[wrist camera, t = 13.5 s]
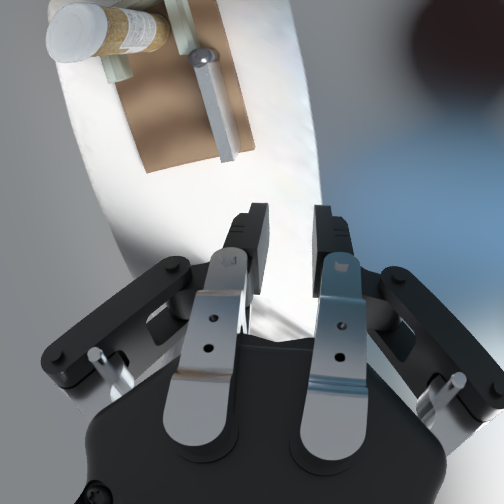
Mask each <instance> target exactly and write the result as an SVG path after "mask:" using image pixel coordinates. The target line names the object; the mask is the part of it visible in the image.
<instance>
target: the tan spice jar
mask: <svg viewBox="0 0 504 504" xmlns="http://www.w3.org/2000/svg"><path fill="white" fill-rule="evenodd" d="M169 34H170V25H169V22H168V21H167V19H166V18H164V17H163V16H162V15H159V14H154V13H150V14H149V13H146V12H142V11H137V10H130V9H124V8H117V7H102V6H98V5H96V4H93V3H72V4H69V5H67V6H65V7H63V8H62V9H61V10H59V11H58V12H57V13H56V15H55V16H54V17H53V19H52V20H51V22H50V24H49V26H48V30H47V33H46V47H47V51H48V53H49V55H50V56H51V57H52V58H53V59H54V60H55V61H57V62H60V63H72V62H77V61H82V60H85V59H88V58H89V57H94V56H103V55H113V54H128V53H137V52H153V51H156V50H158V49H159V48H161V47H162V46H163V45H164V44H165V43H166V42H167V40H168V37H169Z"/></svg>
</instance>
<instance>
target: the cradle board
mask: <svg viewBox="0 0 504 504" xmlns="http://www.w3.org/2000/svg"><path fill="white" fill-rule="evenodd" d="M111 7H117V8H124V9H130V10H137V11H142V12H146V13H149V14H150V13H154V14H159V15H162V16H163V17H164V18H166V19H167V21H168V22H169V25H170V34H169V37H168V40H167V42H166V43H165V44H164V45H163V46H162V47H161V48H159V49H158V50H156V51H153V52H137V53H128V54H113V55H103V56H100V58H101V61H102V64H103V68H104V71H105V74H106V78H107V81H108V84H111V83H115V85H116V88H117V91H118V94H119V97H120V100H121V103H122V106H123V109H124V112H125V115H126V118H127V121H128V124H129V127H130V129H131V132H132V135H133V138H134V141H135V143H136V146H137V149H138V152H139V154H140V157H141V160H142V162H143V165H144V168H145V170H146V173H151V172H154V171H158V170H162V169H166V168H170V167H174V166H179V165H183V164H187V163H192V162H196V161H201V160H205V159H210V158H215V157H220V156H219V152H218V149H217V146H216V142H215V139H214V135H213V132H212V128H211V125H210V122H209V118H208V115H207V111H206V108H205V104H204V101H203V97H202V94H201V90H200V87H199V84H198V80H197V77H196V73H195V70H194V67H193V66H191V65H190V63H189V61H188V56H189V54H190V52H191V51H192V50H194V49H197V48H206V49H215V50H217V51H218V52H219V54H220V60H219V65H220V68H221V72H222V76H223V79H224V83H225V87H226V90H227V94H228V98H229V101H230V105H231V109H232V112H233V116H234V120H235V124H236V128H237V131H238V135H239V139H240V143H241V146H242V148H241V150H240V151H239V153H240V152H246V151H251V150H254V149H255V144H254V140H253V136H252V132H251V128H250V124H249V120H248V116H247V112H246V108H245V104H244V101H243V97H242V93H241V89H240V85H239V81H238V77H237V74H236V70H235V66H234V62H233V59H232V55H231V51H230V48H229V44H228V40H227V37H226V33H225V30H224V26H223V22H222V19H221V15H220V12H219V8H218V5H217V1H216V0H123V1H121V2H119V3H117V4H115V5H113V6H111Z"/></svg>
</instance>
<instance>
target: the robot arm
mask: <svg viewBox="0 0 504 504" xmlns="http://www.w3.org/2000/svg"><path fill="white" fill-rule="evenodd" d="M268 247H269V206H268V203H252V204H251V207H250V210H249V213H240V214H239V215H237V216H236V217H235V218H234V219H233V222H232V224H231V227H230V230H229V232H228V235H227V238H226V240H225V243H224V246H223V248H222V249H220V250H218V251H216V252H215V253H214V254H213V255H212V256H211V259H210V262H207V263H204V264H198V265H192V266H190V262H189V260H188V259H186V258H185V257H181V256H172V257H168V258H165V259H163V260H162V261H160V262H159V263H157V264H156V265H155V266H153V267H152V268H151V269H149V270H148V271H146V272H145V273H144V274H142V275H141V276H140V277H138V278H137V279H135V280H134V281H133V282H131V283H130V284H129V285H127V286H126V287H125V288H123V289H122V290H121V291H119V292H118V293H116V294H115V295H114V296H112V297H111V298H110V299H109V300H107V301H106V302H104V303H103V304H102V305H101V306H99V307H98V308H97V309H95V310H94V311H93V312H92V313H90V314H89V315H87V316H86V317H85V318H84V319H82V320H81V321H80V322H78V323H77V324H76V325H75V326H73V327H72V328H71V329H70V330H68V331H67V332H66V333H65V334H63V335H62V336H61V337H60V338H58V339H57V340H56V341H54V342H53V343H52V344H51V345H49V346H48V347H47V348H46V350H45V351H44V353H43V354H42V357H41V366H42V368H43V370H44V371H45V372H46V374H47V375H48V376H49V377H50V378H51V379H52V380H53V381H54V383H55V384H56V385H57V387H58V388H59V389H60V390H61V391H63V393H64V394H65V395H67V396H68V397H69V398H70V399H71V400H72V401H73V403H74V404H75V405H76V407H77V408H78V410H79V411H80V412H81V414H82V415H83V416H84V418H85V419H86V420H87V421H88V423H89V426H88V429H87V432H86V437H85V448H86V455H87V465H88V466H87V468H88V469H87V482H86V486H85V488H84V490H83V492H82V494H81V495H80V497H79V498H78V500H77V501H76V502H75V503H74V504H434V501H435V499H436V496H437V494H438V491H439V490H440V488H441V485H442V483H443V481H444V478H445V474H446V467H447V460H446V457H447V456H448V455H449V454H450V453H451V452H452V451H454V450H455V449H456V448H457V447H459V446H460V445H461V444H462V443H463V442H464V441H465V440H467V439H468V438H469V437H471V436H472V435H473V434H475V433H476V432H477V431H479V430H480V429H481V428H483V427H484V426H485V425H486V424H488V423H489V422H490V421H491V420H493V419H494V418H495V417H496V416H497V415H499V414H500V413H501V412H502V411H503V410H504V371H503V370H502V369H501V368H500V366H499V365H498V364H497V363H496V362H495V361H494V359H493V358H492V357H491V356H490V355H489V353H488V352H487V351H486V350H485V349H484V348H483V346H482V345H481V344H480V343H479V342H478V341H477V340H476V339H475V337H474V336H472V334H471V333H470V332H469V331H468V330H467V329H466V328H465V327H464V325H463V324H462V323H461V322H460V321H459V320H458V319H457V318H456V317H455V316H454V315H453V314H452V313H451V312H450V311H449V310H448V309H447V308H446V307H445V306H444V305H443V304H442V303H441V302H440V300H439V299H438V298H437V297H436V296H435V295H434V294H433V293H431V292H430V290H429V289H427V288H426V287H425V286H424V285H423V284H422V283H421V282H420V281H419V280H418V279H417V278H416V277H415V276H414V275H413V274H412V273H411V272H410V271H408V270H406V269H404V268H402V267H397V266H391V267H387V268H385V269H384V270H383V271H382V272H381V274H378V273H374V272H371V271H368V270H366V269H364V268H362V267H361V266H360V262H359V260H358V259H357V258H356V257H355V256H354V252H353V247H352V242H351V238H350V233H349V228H348V224H347V222H346V221H345V220H344V219H343V218H342V217H337V216H332V213H331V206H330V205H329V206H328V205H314V219H313V235H312V267H313V298H318V310H317V318H316V326H315V333H314V338H303V339H297V340H290V341H284V342H273V341H270V340H266V339H263V338H260V337H256V336H253V335H250V323H251V304H252V299H253V294H255V295H260V292H261V286H262V281H263V275H264V269H265V264H266V258H267V252H268ZM165 302H166V305H167V307H166V308H165V309H164V310H162V311H161V312H160V313H159V314H157V315H156V316H155V317H154V318H153V319H151V320H150V321H149V322H148V323H147V324H146V321H147V318H148V316H149V315H150V314H151V313H153V312H154V311H155V310H156V309H158V308H159V307H160V306H161V305H163V304H164V303H165ZM402 318H403V320H404V321H405V322H406V323H407V324H408V325H409V326H410V328H411V329H412V330H413V331H414V333H415V335H414V333H413V332H412V331H411V330H410V329H409V328H408V327H407V325H406V324H405V323H404V322H403V321H402ZM367 332H368V334H369V335H370V337H371V338H372V339H373V340H374V342H375V343H376V344H377V346H378V347H379V348H380V350H381V351H382V352H383V353H384V355H385V356H386V357H387V359H388V360H389V361H390V363H391V364H392V365H393V366H394V368H395V369H396V370H397V372H398V373H399V375H400V376H401V377H402V379H403V380H404V381H405V383H406V384H407V385H408V387H409V388H410V390H411V391H412V392H413V394H414V395H415V396H416V398H417V399H418V401H417V404H416V411H417V414H418V417H417V416H416V415H415V414H414V412H413V411H412V410H411V409H410V408H409V407H408V406H407V405H406V404H405V403H404V402H403V401H402V399H401V398H400V397H399V396H398V395H397V394H396V393H395V392H394V391H393V390H392V389H391V388H390V387H389V385H387V383H386V382H385V381H384V380H383V379H382V378H381V377H380V376H379V375H378V374H377V373H376V371H374V370H373V368H372V367H371V366H370V365H369V364H368V363H367V362H366V360H367ZM163 354H165V356H164V359H163V361H162V364H161V367H160V369H159V370H158V371H157V372H155V373H154V374H153V375H151V376H150V377H148V378H147V379H145V380H144V381H143V382H141V383H140V384H138V385H137V386H135V387H134V380H135V379H137V378H138V377H139V376H140V375H141V374H142V373H143V372H144V371H146V370H147V369H148V368H149V367H150V366H151V365H152V364H153V363H154V362H156V361H157V360H158V359H159V358H160V357H161V356H162V355H163ZM133 387H134V388H133Z"/></svg>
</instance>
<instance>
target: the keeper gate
mask: <svg viewBox="0 0 504 504" xmlns="http://www.w3.org/2000/svg"><path fill="white" fill-rule="evenodd" d="M219 60H220V54H219V52H218V51H217V50H215V49H206V48H197V49H194V50H192V51H191V52H190V54H189V56H188V61H189V63H190V65H191V66H193V67H194V70H195V73H196V77H197V80H198V84H199V87H200V90H201V94H202V97H203V101H204V104H205V108H206V111H207V115H208V118H209V122H210V125H211V128H212V132H213V135H214V139H215V142H216V146H217V149H218V152H219V156H220V159H221V163H223V162H229V161H234V160H235V158H236V156H237V155H238V153H239V151H240V150H241V148H242V146H241V143H240V139H239V135H238V131H237V128H236V124H235V120H234V116H233V112H232V109H231V105H230V101H229V98H228V94H227V90H226V87H225V83H224V79H223V76H222V72H221V68H220V65H219Z"/></svg>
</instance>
